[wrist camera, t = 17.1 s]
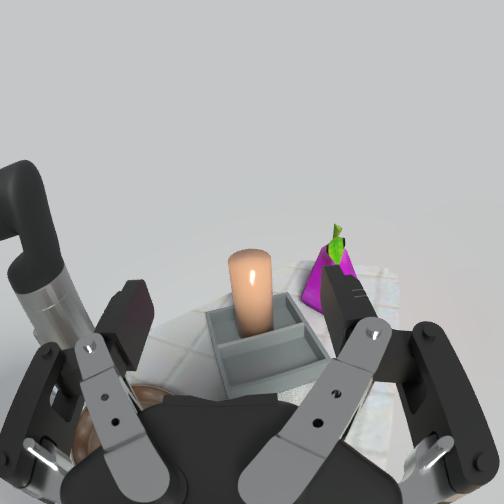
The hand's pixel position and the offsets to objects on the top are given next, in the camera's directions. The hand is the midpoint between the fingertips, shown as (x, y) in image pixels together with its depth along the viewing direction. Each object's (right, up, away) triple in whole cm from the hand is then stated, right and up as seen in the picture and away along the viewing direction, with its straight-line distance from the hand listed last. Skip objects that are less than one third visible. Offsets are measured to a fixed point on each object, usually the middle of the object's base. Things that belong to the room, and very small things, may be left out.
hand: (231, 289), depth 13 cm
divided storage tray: (+3, -13, +29) cm, 32 cm away
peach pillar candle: (+2, -11, +32) cm, 34 cm away
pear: (+15, -7, +38) cm, 42 cm away
